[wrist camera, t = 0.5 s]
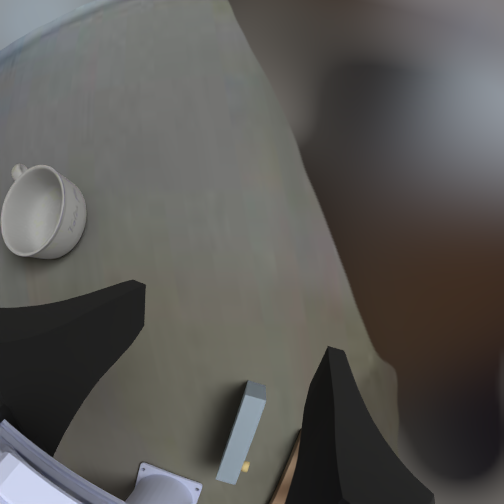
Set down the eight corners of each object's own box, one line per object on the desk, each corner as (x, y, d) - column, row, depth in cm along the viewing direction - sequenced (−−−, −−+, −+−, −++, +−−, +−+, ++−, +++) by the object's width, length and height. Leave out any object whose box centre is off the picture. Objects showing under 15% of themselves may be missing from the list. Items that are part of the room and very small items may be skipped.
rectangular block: (245, 460, 32) (242, 486, 26) (222, 454, 32) (215, 479, 26) (272, 387, 34) (274, 402, 27) (248, 380, 34) (245, 394, 28)
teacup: (107, 240, 37) (74, 223, 29) (45, 279, 37) (7, 272, 29) (78, 156, 40) (49, 129, 32) (23, 195, 39) (-10, 177, 31)
